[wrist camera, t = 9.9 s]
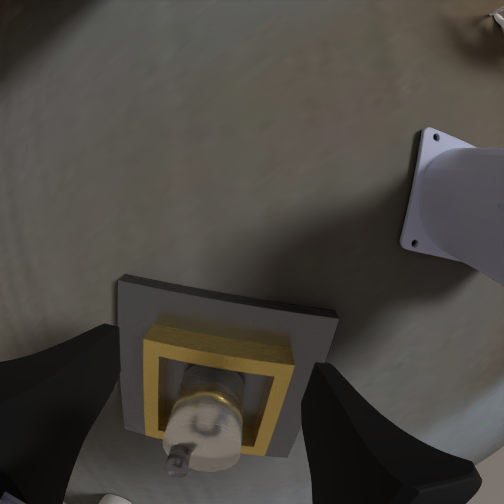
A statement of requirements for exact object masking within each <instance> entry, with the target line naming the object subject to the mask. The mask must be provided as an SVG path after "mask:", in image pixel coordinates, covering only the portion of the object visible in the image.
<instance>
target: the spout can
mask: <svg viewBox="0 0 504 504" xmlns="http://www.w3.org/2000/svg"><path fill="white" fill-rule="evenodd" d="M243 405H244V383H243V380H242V379H241V377H240V376H239V375H238V373H237V372H235V371H232V370H226V369H220V368H215V367H209V366H204V365H198V364H196V365H194V366H192V367H190V368H189V369H188V370H187V371H186V372H185V373H184V375H183V378H182V381H181V384H180V387H179V390H178V393H177V396H176V399H175V402H174V405H173V409H172V412H171V415H170V418H169V421H168V424H167V428H166V431H165V434H164V437H163V441H162V445H163V448H164V450H165V452H166V454H167V455H168V459H167V463H166V466H165V471H166V473H168V474H169V475H171V476H174V477H179V478H181V477H185V476H186V475H187V471H188V468H190V469H193V470H197V471H205V472H215V471H222V470H225V469H228V468H230V467H232V466H234V465H235V464H236V463H237V462H238V461H239V459H240V456H241V441H242V423H243Z"/></svg>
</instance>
